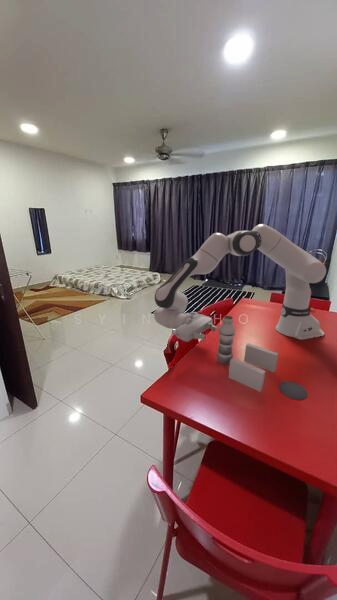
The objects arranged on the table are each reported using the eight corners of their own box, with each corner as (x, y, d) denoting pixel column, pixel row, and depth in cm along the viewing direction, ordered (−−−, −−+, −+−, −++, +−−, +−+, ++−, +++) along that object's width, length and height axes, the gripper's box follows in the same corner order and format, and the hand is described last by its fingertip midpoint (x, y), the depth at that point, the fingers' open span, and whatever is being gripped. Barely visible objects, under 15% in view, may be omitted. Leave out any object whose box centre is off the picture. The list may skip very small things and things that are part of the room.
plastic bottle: (232, 358, 102) (237, 315, 95) (231, 367, 96) (236, 322, 89) (217, 355, 104) (221, 313, 97) (214, 364, 98) (218, 320, 91)
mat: (297, 381, 89) (297, 380, 89) (313, 399, 80) (313, 398, 80) (274, 382, 88) (274, 381, 88) (287, 400, 80) (287, 400, 79)
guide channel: (228, 377, 91) (230, 360, 88) (246, 358, 102) (248, 343, 99) (260, 391, 83) (263, 373, 81) (275, 369, 95) (278, 353, 92)
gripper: (169, 325, 101) (197, 335, 92) (196, 310, 115) (222, 318, 107) (169, 338, 103) (196, 350, 94) (196, 322, 117) (221, 331, 109)
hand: (210, 333), depth 101 cm, fingers open, 8 cm apart
